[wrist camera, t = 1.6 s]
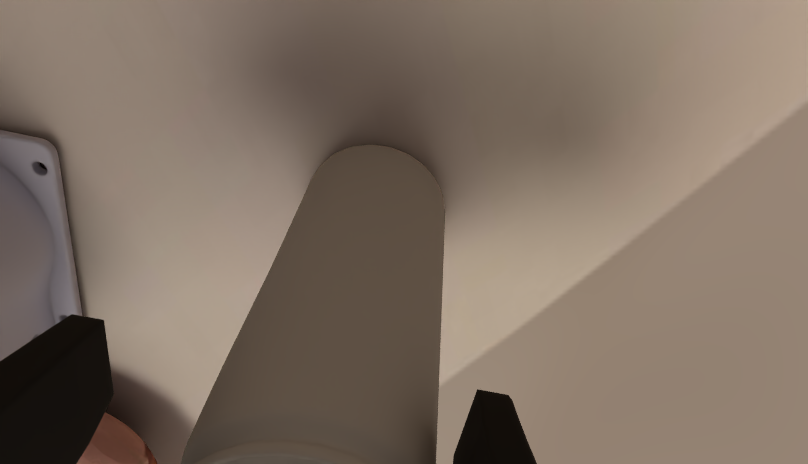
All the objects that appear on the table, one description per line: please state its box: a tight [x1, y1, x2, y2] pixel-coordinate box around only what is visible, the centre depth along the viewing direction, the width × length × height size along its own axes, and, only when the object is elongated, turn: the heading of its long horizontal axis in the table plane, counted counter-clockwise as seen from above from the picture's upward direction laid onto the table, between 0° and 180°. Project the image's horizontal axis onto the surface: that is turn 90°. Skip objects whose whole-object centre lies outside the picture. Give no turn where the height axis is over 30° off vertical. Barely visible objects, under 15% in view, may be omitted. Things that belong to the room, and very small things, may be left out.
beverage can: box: [181, 144, 445, 464], centre depth 16 cm, size 5×5×12 cm
